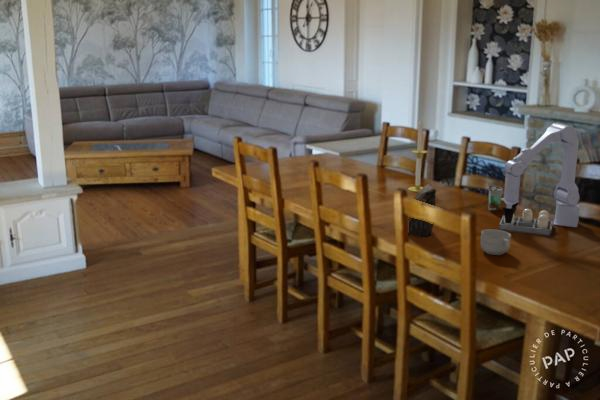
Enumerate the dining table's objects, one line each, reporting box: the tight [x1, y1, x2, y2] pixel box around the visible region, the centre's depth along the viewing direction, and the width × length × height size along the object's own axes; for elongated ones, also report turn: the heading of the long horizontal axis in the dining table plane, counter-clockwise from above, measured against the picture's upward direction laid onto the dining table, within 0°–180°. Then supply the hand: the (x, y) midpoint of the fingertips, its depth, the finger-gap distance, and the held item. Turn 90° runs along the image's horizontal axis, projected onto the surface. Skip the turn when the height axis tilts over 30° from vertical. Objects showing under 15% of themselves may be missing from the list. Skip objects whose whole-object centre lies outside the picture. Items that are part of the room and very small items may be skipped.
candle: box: [407, 118, 428, 193], centre depth 326 cm, size 10×10×38 cm
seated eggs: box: [521, 208, 550, 229], centre depth 267 cm, size 11×11×7 cm
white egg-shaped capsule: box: [504, 213, 515, 226], centre depth 268 cm, size 4×4×7 cm
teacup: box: [480, 228, 512, 256], centre depth 239 cm, size 14×11×8 cm
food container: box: [487, 184, 505, 212], centre depth 295 cm, size 12×6×10 cm, turn 168°
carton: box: [498, 214, 554, 237], centre depth 269 cm, size 20×14×2 cm
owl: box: [408, 183, 437, 239], centre depth 261 cm, size 13×13×20 cm
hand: (509, 220), depth 268 cm, fingers open, 7 cm apart
